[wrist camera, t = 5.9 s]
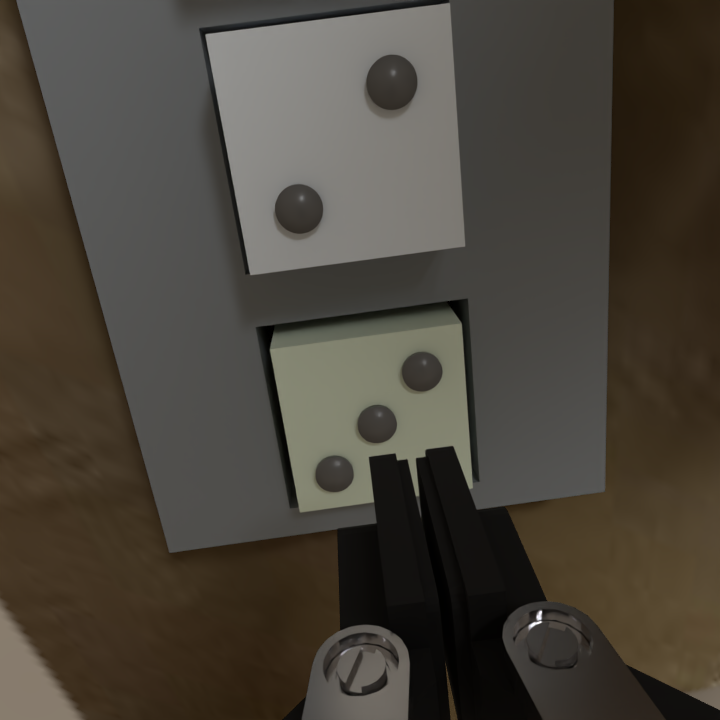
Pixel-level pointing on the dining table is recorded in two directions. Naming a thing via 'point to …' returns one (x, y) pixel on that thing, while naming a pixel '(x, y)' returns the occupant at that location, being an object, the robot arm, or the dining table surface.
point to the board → (343, 280)
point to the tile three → (369, 397)
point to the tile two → (342, 137)
